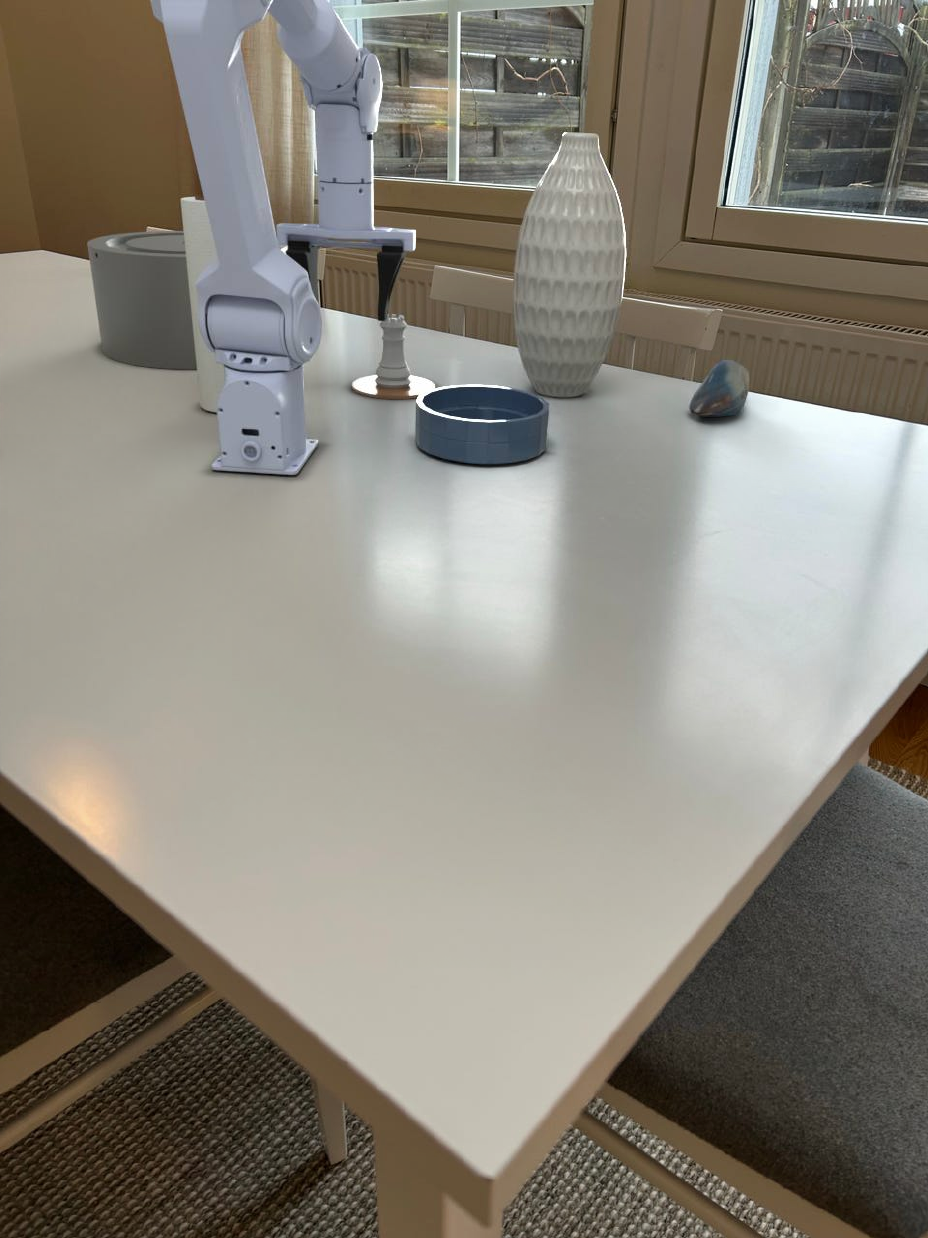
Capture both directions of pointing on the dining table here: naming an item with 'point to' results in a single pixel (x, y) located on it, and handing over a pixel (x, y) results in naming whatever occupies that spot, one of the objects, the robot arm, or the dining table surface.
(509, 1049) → the dining table surface
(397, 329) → the rook chess piece
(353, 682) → the dining table surface
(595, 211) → the vase
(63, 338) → the dining table surface
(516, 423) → the bowl
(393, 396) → the coaster
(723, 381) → the seashell
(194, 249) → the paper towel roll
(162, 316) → the container
